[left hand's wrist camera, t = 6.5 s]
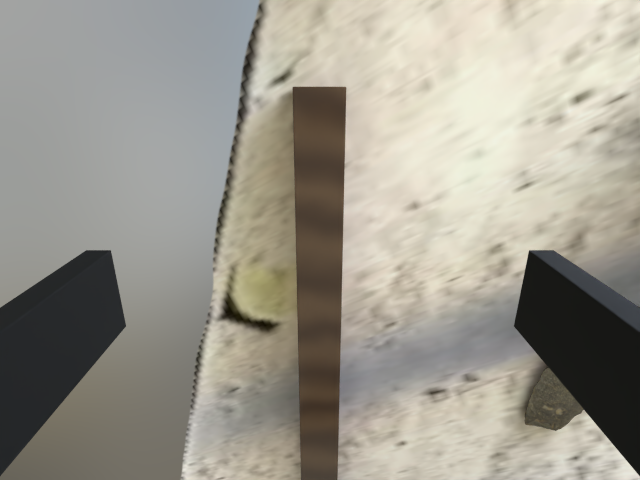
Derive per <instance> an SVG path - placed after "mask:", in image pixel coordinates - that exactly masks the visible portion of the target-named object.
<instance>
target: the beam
mask: <svg viewBox="0 0 640 480" xmlns="http://www.w3.org/2000/svg"><path fill="white" fill-rule="evenodd" d="M345 117H346V87H293V121H294V167H295V213H296V259H297V305H298V350H299V396H300V442H301V480H337V473H338V428H339V384H340V339H341V295H342V250H343V206H344V161H345Z"/></svg>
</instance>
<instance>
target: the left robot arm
mask: <svg viewBox="0 0 640 480" xmlns="http://www.w3.org/2000/svg"><path fill="white" fill-rule="evenodd" d="M125 327H126V324H125V319H124V314H123V309H122V304H121V299H120V294H119V289H118V284H117V279H116V274H115V269H114V264H113V259H112V254H111V251H110V250H109V251H108V250H106V251H103V250H102V251H101V250H98V251H97V250H94V251H93V250H89V251H88V250H87V251H85V252H83V253H82V254H80V255H79V256H77V257H76V258H74V259H73V260H71V261H70V262H68V263H67V264H65V265H64V266H62V267H61V268H59V269H58V270H56V271H55V272H53V273H52V274H50V275H49V276H47V277H46V278H44V279H43V280H41V281H40V282H38V283H37V284H35V285H34V286H32V287H31V288H29V289H28V290H26V291H25V292H23V293H22V294H20V295H19V296H17V297H16V298H14V299H13V300H11V301H10V302H8V303H7V304H5V305H4V306H2V307H1V308H0V476H1V474H2V473H3V472H4V471H5V470H6V468H7V467H8V466H9V465H10V464H11V463H12V461H13V460H14V459H15V458H16V457H17V455H18V454H19V453H20V452H21V451H22V449H23V448H24V447H25V446H26V445H27V443H28V442H29V441H30V440H31V439H32V438H33V436H34V435H35V434H36V433H37V432H38V430H39V429H40V428H41V427H42V426H43V424H44V423H45V422H46V421H47V420H48V418H49V417H50V416H51V415H52V414H53V412H54V411H55V410H56V409H57V408H58V406H59V405H60V404H61V403H62V402H63V401H64V399H65V398H66V397H67V396H68V395H69V393H70V392H71V391H72V390H73V389H74V387H75V386H76V385H77V384H78V383H79V382H80V380H81V379H82V378H83V377H84V376H85V374H86V373H87V372H88V371H89V370H90V368H91V367H92V366H93V365H94V364H95V362H96V361H97V360H98V359H99V358H100V356H101V355H102V354H103V353H104V352H105V350H106V349H107V348H108V347H109V346H110V344H111V343H112V342H113V341H114V340H115V339H116V337H117V336H118V335H119V334H120V333H121V331H122V330H123V329H124V328H125ZM514 327H515V328H516V329H517V330H518V331H519V333H520V334H521V335H522V336H523V337H524V339H525V340H526V341H527V342H528V343H529V345H530V346H531V347H532V348H533V349H534V351H535V352H536V353H537V354H538V355H539V356H540V358H541V359H542V360H543V361H544V362H545V364H546V365H547V366H548V367H549V368H550V370H551V371H552V372H553V373H554V374H555V376H556V377H557V378H558V379H559V380H560V382H561V383H562V384H563V385H564V386H565V387H566V389H567V390H568V391H569V392H570V393H571V395H572V396H573V397H574V398H575V399H576V401H577V402H578V403H579V404H580V405H581V407H582V408H583V409H584V410H585V411H586V412H587V414H588V415H589V416H590V417H591V418H592V420H593V421H594V422H595V423H596V424H597V426H598V427H599V428H600V429H601V430H602V432H603V433H604V434H605V435H606V436H607V438H608V439H609V440H610V441H611V442H612V443H613V445H614V446H615V447H616V448H617V449H618V451H619V452H620V453H621V454H622V455H623V457H624V458H625V459H626V460H627V461H628V463H629V464H630V465H631V466H632V467H633V468H634V470H635V471H636V472H637V473H638V474H639V476H640V308H639V307H638V306H636V305H635V304H633V303H632V302H630V301H629V300H627V299H626V298H624V297H623V296H621V295H620V294H618V293H617V292H615V291H614V290H612V289H611V288H609V287H608V286H606V285H605V284H603V283H602V282H600V281H599V280H597V279H596V278H594V277H593V276H591V275H590V274H588V273H587V272H585V271H584V270H582V269H581V268H579V267H578V266H576V265H575V264H573V263H572V262H570V261H569V260H567V259H566V258H564V257H563V256H561V255H560V254H558V253H557V252H555V251H554V250H529V254H528V259H527V264H526V269H525V274H524V279H523V284H522V289H521V294H520V299H519V304H518V309H517V314H516V319H515V324H514Z"/></svg>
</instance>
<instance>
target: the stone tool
mask: <svg viewBox="0 0 640 480" xmlns="http://www.w3.org/2000/svg"><path fill="white" fill-rule="evenodd" d="M583 410H584V409H583V408H582V407H581V405H580V404H579V403H578V402H577V401H576V399H575V398H574V397H573V396H572V395H571V393H570V392H569V391H568V390H567V389H566V387H565V386H564V385H563V384H562V383H561V382H560V380H559V379H558V378H557V377H556V376H555V374H554V373H553V372H552V371H551V370H550V368H549V367H548V368H546V369H545V370H544V371H543V373H542V375H541V379H540V381H539V382H537V384H536V385H535V386H534V389H533V393H532V395H531V397H530V400H529V403H528V408H527V409H526V414H525V424H526V425H535V426H539V427H544V428H546V429H551V430H555V431H556V430H558V429H561V428H562V427H564V426H565V425H566V424H568V423H569V422H570V421H571V419H572V418H573V417H575V416H576V415H578V414H580V413H581V412H582V411H583Z"/></svg>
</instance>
